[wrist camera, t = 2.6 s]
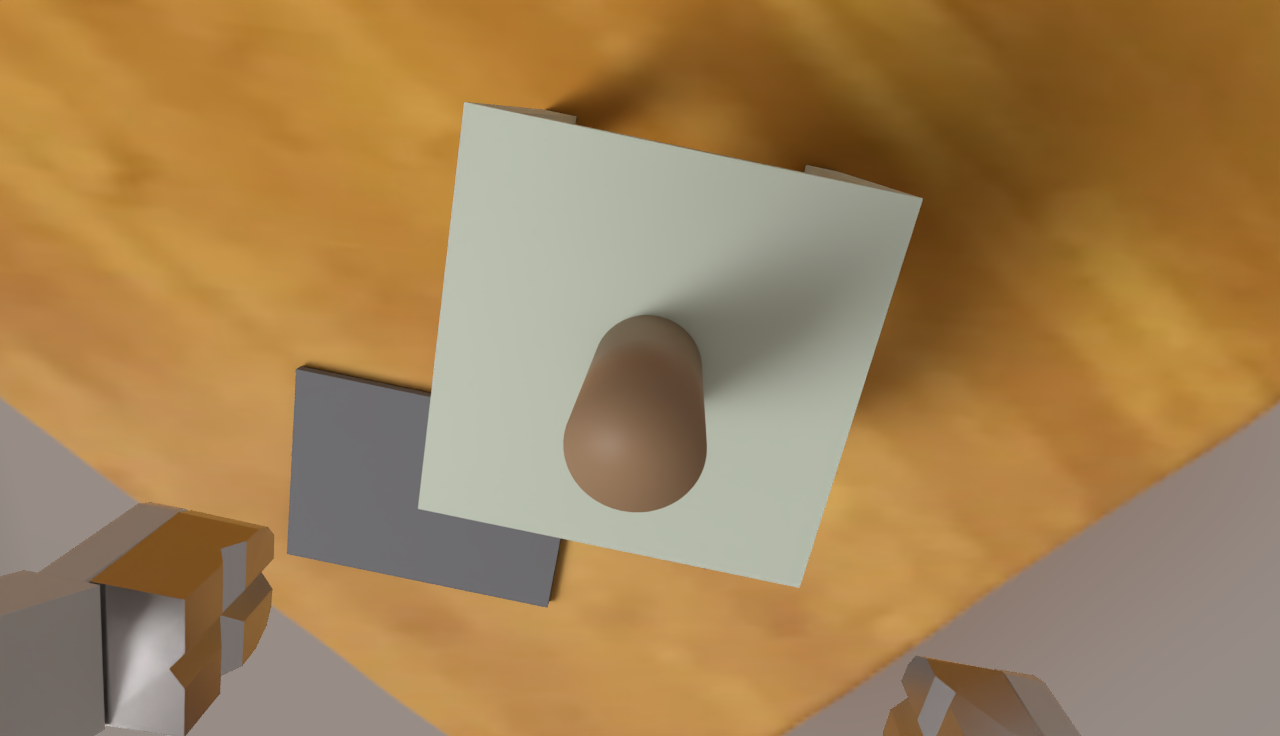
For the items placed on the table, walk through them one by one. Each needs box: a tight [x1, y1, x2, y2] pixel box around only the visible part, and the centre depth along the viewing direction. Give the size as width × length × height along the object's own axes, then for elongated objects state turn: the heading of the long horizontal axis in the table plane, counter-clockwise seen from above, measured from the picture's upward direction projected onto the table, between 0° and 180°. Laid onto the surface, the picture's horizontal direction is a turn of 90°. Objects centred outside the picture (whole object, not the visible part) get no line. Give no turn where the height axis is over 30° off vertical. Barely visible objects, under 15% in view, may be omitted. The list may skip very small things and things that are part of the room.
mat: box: [287, 366, 561, 607], centre depth 32 cm, size 12×9×1 cm
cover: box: [418, 102, 923, 588], centre depth 22 cm, size 11×11×15 cm
